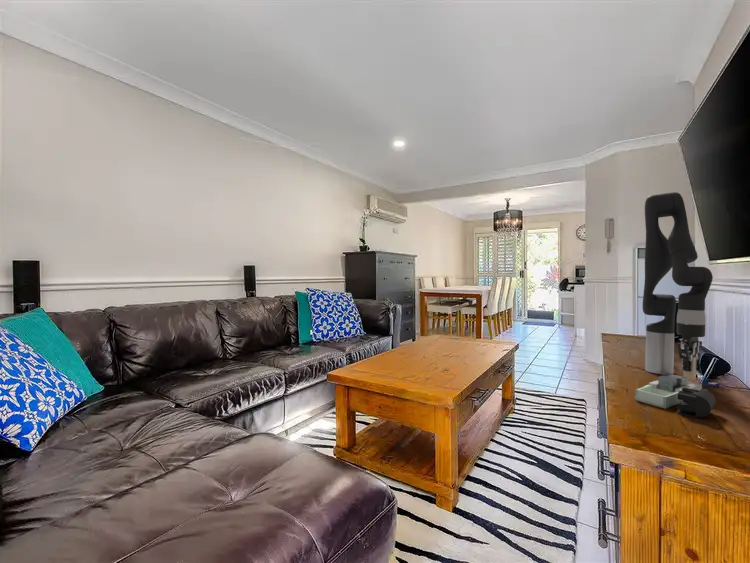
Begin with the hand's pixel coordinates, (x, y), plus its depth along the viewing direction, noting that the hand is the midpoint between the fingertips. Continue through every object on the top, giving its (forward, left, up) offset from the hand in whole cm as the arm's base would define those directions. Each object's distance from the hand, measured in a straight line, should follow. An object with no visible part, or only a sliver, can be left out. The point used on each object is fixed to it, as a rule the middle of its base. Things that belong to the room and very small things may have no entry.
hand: (689, 370), depth 121 cm
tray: (+24, 0, -7) cm, 25 cm away
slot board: (+11, 0, -7) cm, 14 cm away
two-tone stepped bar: (0, 0, -7) cm, 7 cm away
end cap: (+26, +10, -8) cm, 29 cm away
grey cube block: (+11, 0, -5) cm, 12 cm away
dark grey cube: (+16, 0, -5) cm, 16 cm away
